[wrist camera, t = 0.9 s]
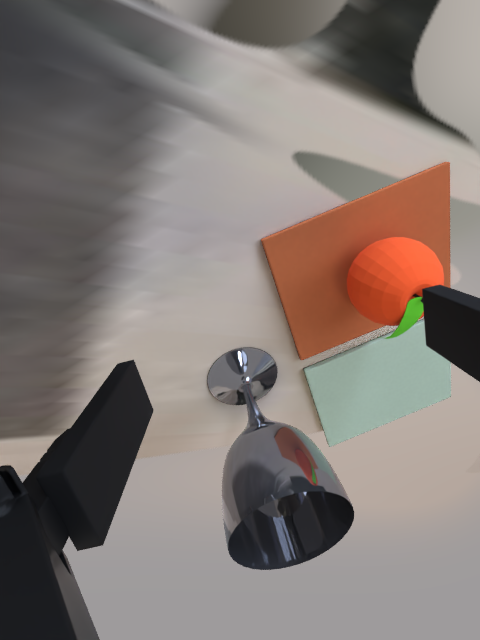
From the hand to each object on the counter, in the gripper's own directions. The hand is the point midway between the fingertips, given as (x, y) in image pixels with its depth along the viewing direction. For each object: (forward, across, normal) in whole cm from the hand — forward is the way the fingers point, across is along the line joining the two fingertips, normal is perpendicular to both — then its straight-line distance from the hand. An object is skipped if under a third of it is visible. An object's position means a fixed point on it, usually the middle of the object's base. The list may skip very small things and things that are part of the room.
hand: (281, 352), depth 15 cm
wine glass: (+16, -3, -9) cm, 19 cm away
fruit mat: (+16, +10, -2) cm, 18 cm away
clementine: (+15, +10, -2) cm, 18 cm away
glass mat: (+19, +11, -16) cm, 27 cm away
